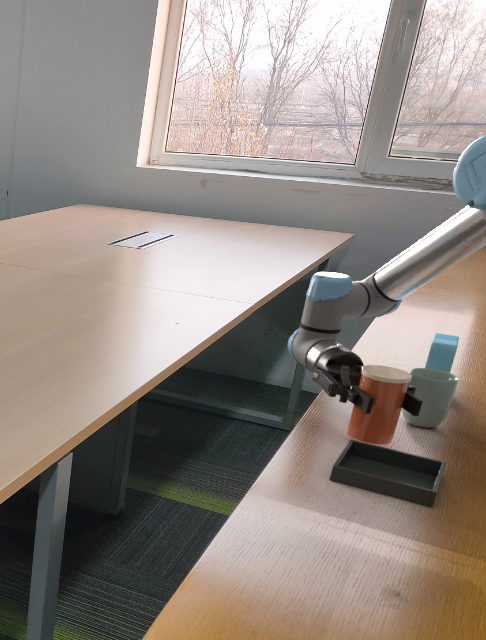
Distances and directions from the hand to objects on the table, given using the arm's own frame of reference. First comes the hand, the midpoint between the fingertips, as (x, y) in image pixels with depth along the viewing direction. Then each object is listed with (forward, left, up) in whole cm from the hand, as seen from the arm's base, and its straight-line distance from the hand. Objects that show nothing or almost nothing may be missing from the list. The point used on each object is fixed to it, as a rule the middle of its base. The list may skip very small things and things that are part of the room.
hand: (394, 407), depth 134 cm
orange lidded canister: (+3, -4, -7) cm, 9 cm away
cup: (-3, -24, -10) cm, 26 cm away
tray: (-2, +10, -9) cm, 14 cm away
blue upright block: (-3, -47, -10) cm, 48 cm away
